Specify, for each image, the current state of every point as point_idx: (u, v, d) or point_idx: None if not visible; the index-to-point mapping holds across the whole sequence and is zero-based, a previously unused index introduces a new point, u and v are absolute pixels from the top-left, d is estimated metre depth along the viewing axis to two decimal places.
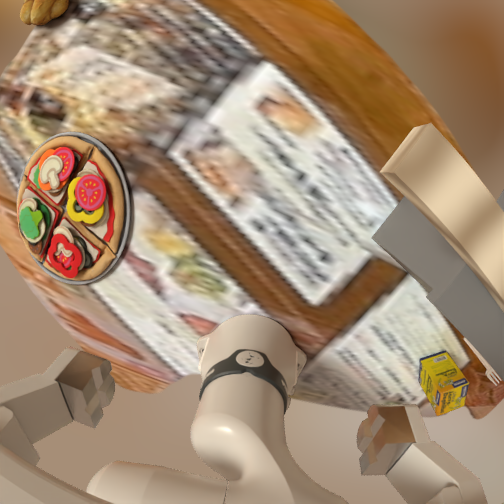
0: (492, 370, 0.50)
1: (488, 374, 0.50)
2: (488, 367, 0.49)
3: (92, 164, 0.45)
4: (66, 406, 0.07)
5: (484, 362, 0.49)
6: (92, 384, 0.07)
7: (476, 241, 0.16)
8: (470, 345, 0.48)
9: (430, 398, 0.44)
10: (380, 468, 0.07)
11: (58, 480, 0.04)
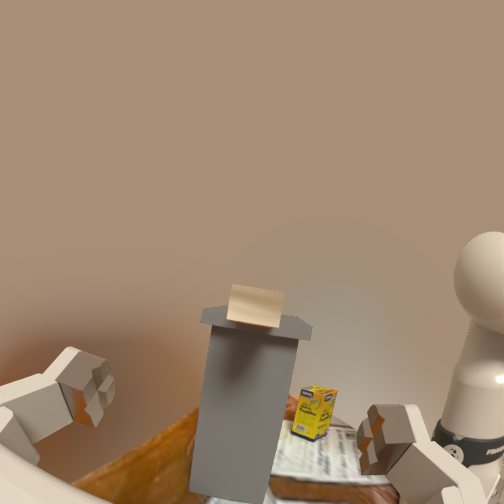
0: None
1: None
2: None
3: None
4: (66, 406, 0.07)
5: None
6: (92, 384, 0.07)
7: None
8: None
9: (331, 408, 0.58)
10: (380, 468, 0.07)
11: (58, 480, 0.04)
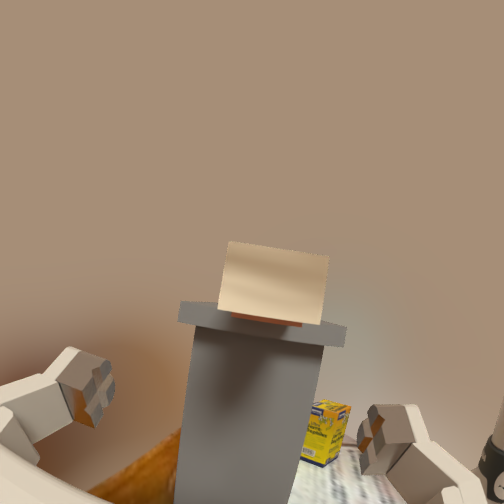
0: None
1: None
2: None
3: None
4: (67, 406, 0.07)
5: None
6: (92, 384, 0.07)
7: None
8: None
9: (344, 427, 0.47)
10: (380, 468, 0.07)
11: (58, 480, 0.04)
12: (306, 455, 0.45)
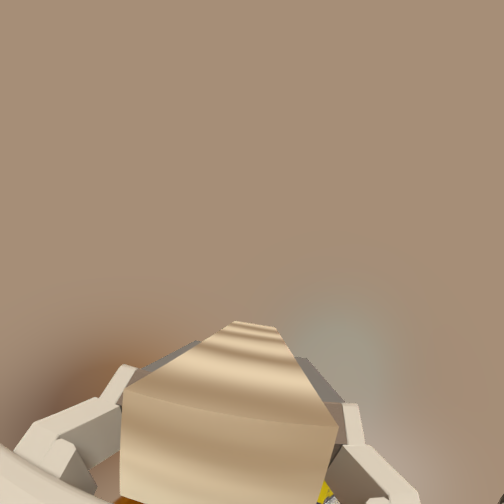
0: None
1: None
2: None
3: None
4: None
5: None
6: None
7: (272, 356, 0.12)
8: None
9: None
10: None
11: (58, 480, 0.04)
12: None
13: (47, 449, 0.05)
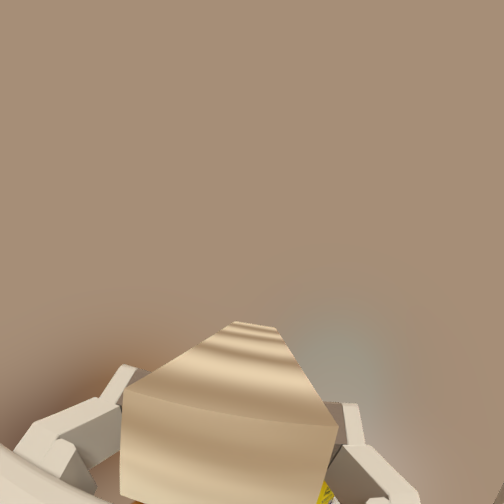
0: None
1: None
2: None
3: None
4: None
5: None
6: None
7: (272, 357, 0.12)
8: None
9: None
10: None
11: (58, 480, 0.04)
12: None
13: (47, 449, 0.05)
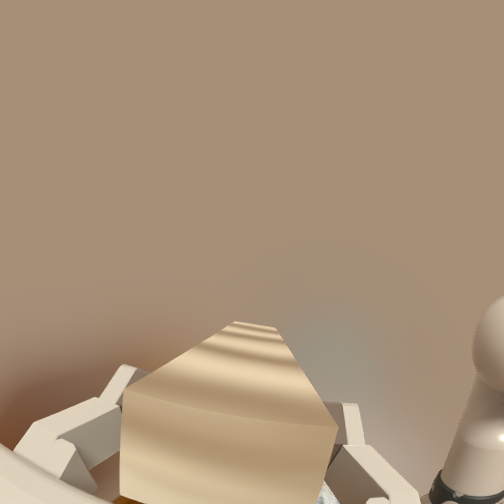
0: None
1: None
2: None
3: None
4: None
5: None
6: None
7: (272, 357, 0.12)
8: None
9: None
10: None
11: (58, 480, 0.04)
12: None
13: (47, 449, 0.05)
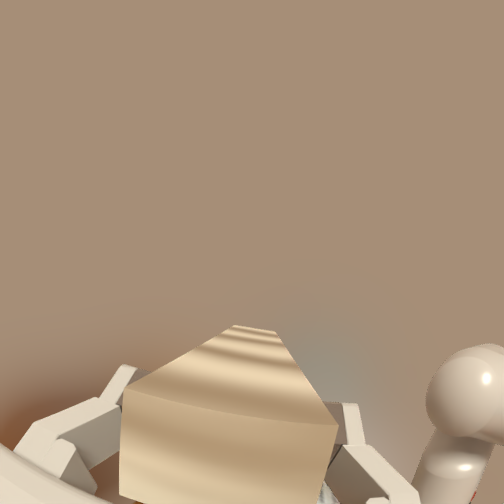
0: None
1: None
2: None
3: None
4: None
5: None
6: None
7: (272, 359, 0.12)
8: None
9: None
10: None
11: (58, 480, 0.04)
12: None
13: (47, 449, 0.05)
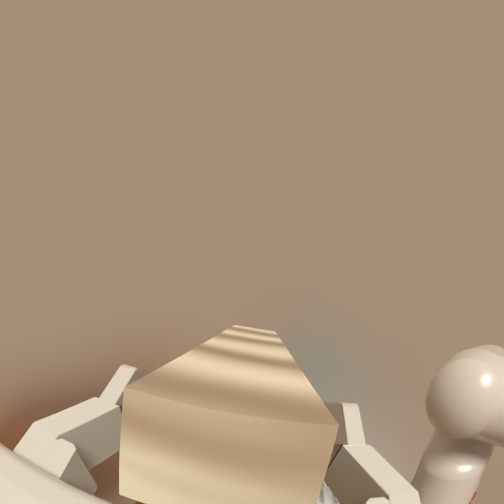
0: None
1: None
2: None
3: None
4: None
5: None
6: None
7: (272, 359, 0.12)
8: None
9: None
10: None
11: (58, 480, 0.04)
12: None
13: (47, 449, 0.05)
